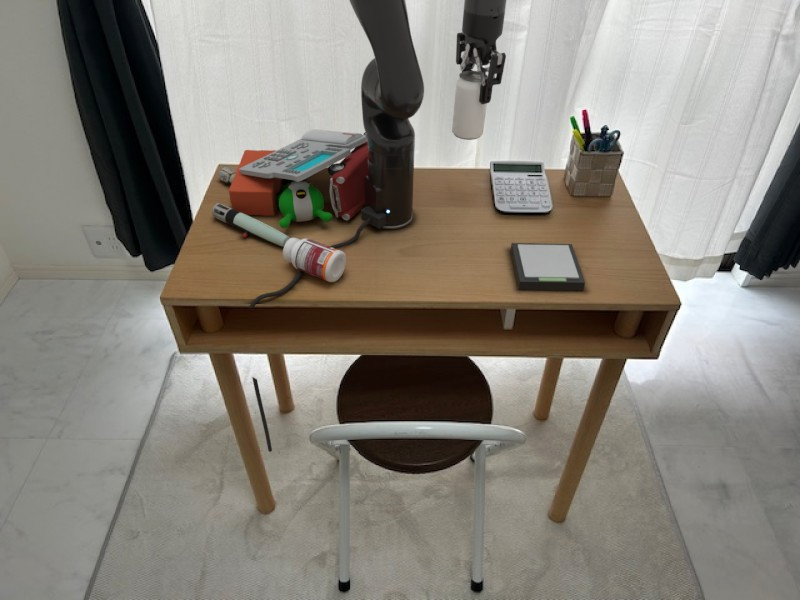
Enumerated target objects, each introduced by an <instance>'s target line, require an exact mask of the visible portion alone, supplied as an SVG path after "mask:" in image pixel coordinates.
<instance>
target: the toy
mask: <svg viewBox="0 0 800 600" xmlns="http://www.w3.org/2000/svg"><path fill="white" fill-rule="evenodd" d="M280 192H281V194H279V195H278V196H277V201H278V202H279V203H278V208H279V211H280V213H281V214H282V216H283V218H281V219H280V220H279V221H278V225H279V227H280V228H282V229H287V228H289V226H290V225H291V222H293V223H299V222H308V221H311V220H314V219H316V218H320V220H321V221H323V222H324V223H328V222H331V221H332V220H333V215H332V213H331V212H327V211H323V210H324V207H325V198H324V196H323V194H322V192H321V190H320V189H318V188H317V187H315V186H313V184H312V183H311V182H310V181H309V182H308V181H303V180H302V181H299V182H296V181H293V182H291V183H289V184H288V185H284V186H282V187H281V191H280Z"/></svg>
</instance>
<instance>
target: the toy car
mask: <svg viewBox="0 0 800 600" xmlns="http://www.w3.org/2000/svg"><path fill="white" fill-rule="evenodd" d="M363 135H366V136H367V134H366V132H365V131H364V133H363ZM327 173H328V175H329V176H331V177H330V179H329V198H330V203H331V208H332V210H333V212H334V214H335V215H334V216H335V217H336V218H342V220H345V221H349V220H351V219H352V218H353V217H354V216H356V214H357V213H358V212H360V211H361V210H362V209H363V208H364V207H365V176H368V141H367V142H365V143H363V144H361V145H359V146H357V147H355V148H353V149H352V150H351V154H350V155H349V156H347V157H345V158H343V159H342V160H340V161H339V162H336V163H334V164H332V165H330V166H328V167H327Z"/></svg>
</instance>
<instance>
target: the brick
mask: <svg viewBox="0 0 800 600" xmlns="http://www.w3.org/2000/svg"><path fill="white" fill-rule="evenodd" d="M275 151H277V150H274V149H273V150H272V149H271V150H266V149H261V150H260V149H259V150H257V149H255V150H254V149H245V150H244V151H243V154H242V156H241V158H240V162H239V164H238V166H237V169H236V174H235V177H234V179H233V181H232V184H231V183H230V184H231V186H230V185H229V189H228V195H229V200H230V204H231V208H232V209H235V210H237V211H239V212H241V213H243V214H246V215H248V216H264V217H265V216H266V217H268V216H269V217H271V216H272V217H273V216H276V212H277V210H278V208H279V202H278V201H277V196H278V195H279V194H281V192H280V191H281V187H282V186H283V178H276V177H273V178H262V177H256V176H250V175H245V174H241V173H240V170H239V168H241V167H243V166H245V165H248V164H250V163H252V162H254V161H256V160H258V159H260V158H263V157H265V156H267V155H269V154H271V153H273V152H275Z"/></svg>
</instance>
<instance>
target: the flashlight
mask: <svg viewBox="0 0 800 600" xmlns="http://www.w3.org/2000/svg"><path fill="white" fill-rule="evenodd" d="M211 215H212V217H213V218H216V219H217V220H219V221H222V222H224V223H226V224H227V225H229V226H232V227H234V228H236V229H239V230H241V231H243V235H242V237H243V238H245V239H247V237H248V235H252V236H254V237H255V238H259V239H261V240H263V241H266V242H269V243H271V244H274V245H277V246H280V247H282V248H284V246H285V244H286V242H287V241H288V240H289V239H290V238H291V237H290V236H289V235H287V234H285V233H284V232H282V231H280V230H278V229H277V228H275V227H273V226H270V225H268V224H267V223H265V222H263V221H261V220H258V219H257V218H254V217H252V216H251V215H246V214H243V213H241V212H239V211H237V210H235V209H232V207H229V206H227V205H225V204H223V203H221V202H218V203H215V204H214V205H213V207H212V208H211Z"/></svg>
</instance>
